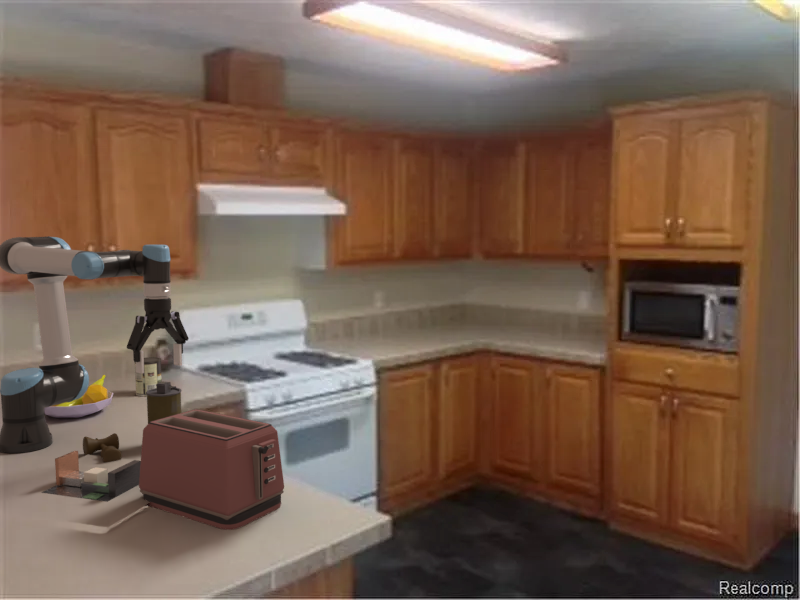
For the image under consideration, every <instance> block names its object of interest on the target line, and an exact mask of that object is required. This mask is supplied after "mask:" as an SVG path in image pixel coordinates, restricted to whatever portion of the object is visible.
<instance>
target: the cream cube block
mask: <svg viewBox="0 0 800 600" xmlns="http://www.w3.org/2000/svg"><path fill="white" fill-rule="evenodd" d="M83 472H84V482H91V483H96V482H97V483H105V484H108V473H109V471H108V468H104V467H96V466H95V467H92V468H91V469H89V470H85V471H83Z"/></svg>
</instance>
